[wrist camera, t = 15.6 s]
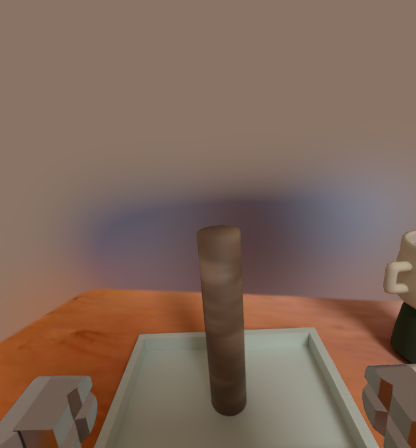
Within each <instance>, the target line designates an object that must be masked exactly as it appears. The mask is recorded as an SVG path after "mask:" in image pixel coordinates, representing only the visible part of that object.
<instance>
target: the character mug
mask: <svg viewBox="0 0 416 448" xmlns="http://www.w3.org/2000/svg"><path fill="white" fill-rule="evenodd" d="M383 287H384V290H385V292H386V293H390V294H398V295H399V296H400V298H401V299H402V300H403V301H404V303H403V304H402V307H401V309H400V312H399V315H398V317H397V320H396V323H395V326H394V330H393V333H392V337H391V345H392V346H393V347H394V348H395V350H396V351H397V352H398V353H400V354H401V355H402V356H403V357H405V358H406V359H407V360H409V361H410V362H412V363H414V364H416V230H414V231H409V232H406V233H405V234H404V235H403V236H402V239H401V245H400V251H399V254H398V257H397V262H391V263H389V264H387V266H386V269H385V277H384V284H383Z"/></svg>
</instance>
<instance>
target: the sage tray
mask: <svg viewBox="0 0 416 448" xmlns="http://www.w3.org/2000/svg"><path fill="white" fill-rule="evenodd" d="M244 344H245V370H246V396H247V402H246V406H245V408H244V409H243V411H242V412H240V413H239V414H237V415H235V416H224V415H221V414H220V413H218V412H217V411H216V410H215V409H214V407H213V405H212V402H211V391H210V380H209V368H208V357H207V346H206V334H205V332H185V333H160V334H140V335H139V337H138V340H137V342H136V345H135V347H134V349H133V352H132V354H131V357H130V359H129V362H128V364H127V367H126V369H125V372H124V374H123V377H122V379H121V382H120V384H119V387H118V389H117V392H116V394H115V397H114V399H113V402H112V404H111V407H110V409H109V411H108V414H107V416H106V419H105V421H104V424H103V426H102V429H101V431H100V434H99V436H98V439H97V441H96V444H95V446H94V448H379V446H378V444H377V443H376V441H375V439H374V437H373V435H372V433H371V431H370V430H369V428H368V426H367V424H366V422H365V420H364V419H363V417H362V415H361V413H360V411H359V409H358V407H357V406H356V404H355V402H354V400H353V398H352V396H351V394H350V393H349V391H348V389H347V387H346V385H345V383H344V381H343V380H342V378H341V376H340V374H339V372H338V370H337V369H336V367H335V365H334V363H333V361H332V359H331V357H330V356H329V354H328V352H327V350H326V348H325V346H324V344H323V343H322V341H321V339H320V337H319V335H318V333H317V332H316V330H315V328H314V327H312V328H287V329H261V330H244Z"/></svg>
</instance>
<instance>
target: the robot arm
mask: <svg viewBox="0 0 416 448" xmlns="http://www.w3.org/2000/svg"><path fill="white" fill-rule="evenodd" d="M365 378H366V380H367V381H368V384H367V385H366V386H365V387H364V388H363V395H362V400H363V404H364V409H365V412H366V414H367V417H368V419H369V421H370V423H371V425H372V427H373V428H374V429H375V430H376V431H378V432H379V433H380V434H381V435H383V436H384V448H416V364H405V365H403V364H399V365H377V366H368V367H367V368H366V370H365ZM92 385H93V384H92V381H91V377H90V376H86V375H79V376H38V377H37V378H35V379H34V380H33V381H32V382H31V383H30V385H29V386H28V387H27V388H26V390H25V391H24V392H23V393H22V395H21V396H20V397H19V399H18V400H17V401H16V402H15V404H14V405H13V406H12V407H11V409H10V410H9V411H8V413H7V414H6V415H5V416H4V418H3V419H2V420H1V421H0V448H82V446H81V442H82V441H84V440H85V439H86V438H87V437H88V436H89V435H90V433H91V431H92V429H93V426H94V424H95V420H96V415H97V400H96V396H95V395H94V394H92V393H91V392H90V389H91V387H92Z"/></svg>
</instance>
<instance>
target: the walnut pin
mask: <svg viewBox="0 0 416 448" xmlns="http://www.w3.org/2000/svg"><path fill="white" fill-rule="evenodd" d="M197 244H198V255H199V266H200V278H201V288H202V300H203V312H204V323H205V334H206V346H207V357H208V368H209V380H210V391H211V402H212V405H213V407H214V409H215V410H216V411H217V412H218V413H220V414H221V415H224V416H235V415H237V414H239V413H240V412H242V411H243V409H244V408H245V406H246V402H247V396H246V370H245V344H244V318H243V292H242V268H241V267H242V266H241V240H240V230H239V229H238V228H236V227H233V226H225V225H222V226H221V225H219V226H210V227H206V228H203V229H200V230H199V231H198V232H197Z"/></svg>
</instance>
